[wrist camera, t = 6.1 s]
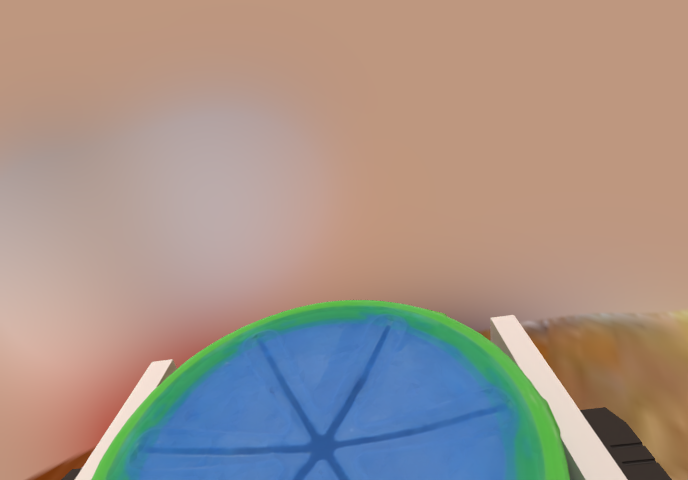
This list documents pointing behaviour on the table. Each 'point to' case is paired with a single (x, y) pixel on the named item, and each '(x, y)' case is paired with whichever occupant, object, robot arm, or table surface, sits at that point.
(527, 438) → the snack cup
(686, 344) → the table surface
